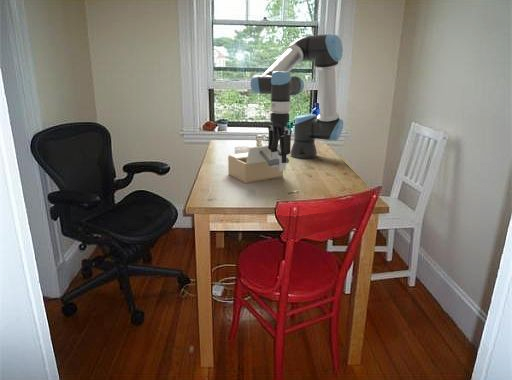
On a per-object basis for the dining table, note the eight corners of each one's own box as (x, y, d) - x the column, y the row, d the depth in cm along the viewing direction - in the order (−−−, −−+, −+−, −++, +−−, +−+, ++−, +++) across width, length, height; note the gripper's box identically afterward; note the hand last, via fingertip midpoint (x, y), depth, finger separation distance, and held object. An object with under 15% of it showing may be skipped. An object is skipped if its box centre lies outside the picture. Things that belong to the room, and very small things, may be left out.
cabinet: (264, 168, 180) (264, 150, 177) (282, 177, 167) (283, 157, 164) (228, 174, 170) (228, 154, 167) (245, 183, 157) (245, 162, 154)
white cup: (236, 170, 178) (236, 150, 175) (233, 165, 185) (232, 146, 182) (252, 168, 180) (252, 149, 177) (248, 165, 187) (248, 146, 184)
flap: (287, 143, 159) (300, 155, 153) (282, 158, 164) (295, 171, 158) (249, 147, 150) (261, 161, 143) (246, 163, 155) (257, 177, 148)
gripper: (260, 110, 149) (259, 164, 157) (285, 115, 134) (283, 175, 142) (275, 109, 153) (273, 162, 160) (301, 114, 138) (298, 172, 146)
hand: (278, 168), depth 151 cm, fingers open, 5 cm apart
